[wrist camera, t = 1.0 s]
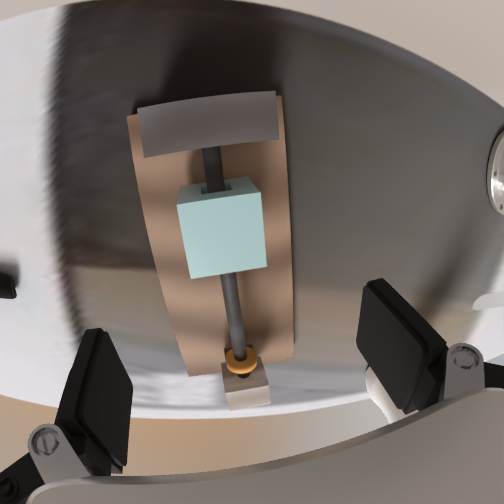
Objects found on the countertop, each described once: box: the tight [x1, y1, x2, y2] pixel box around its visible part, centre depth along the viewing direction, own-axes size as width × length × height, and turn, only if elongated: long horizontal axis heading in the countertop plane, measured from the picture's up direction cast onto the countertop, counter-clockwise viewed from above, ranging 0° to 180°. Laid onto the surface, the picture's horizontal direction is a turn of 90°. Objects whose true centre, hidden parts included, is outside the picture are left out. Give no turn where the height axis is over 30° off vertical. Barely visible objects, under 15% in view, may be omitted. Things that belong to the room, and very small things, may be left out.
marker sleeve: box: [177, 177, 267, 279], centre depth 21 cm, size 5×5×5 cm
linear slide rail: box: [127, 91, 294, 411], centre depth 25 cm, size 27×12×8 cm, turn 5°
